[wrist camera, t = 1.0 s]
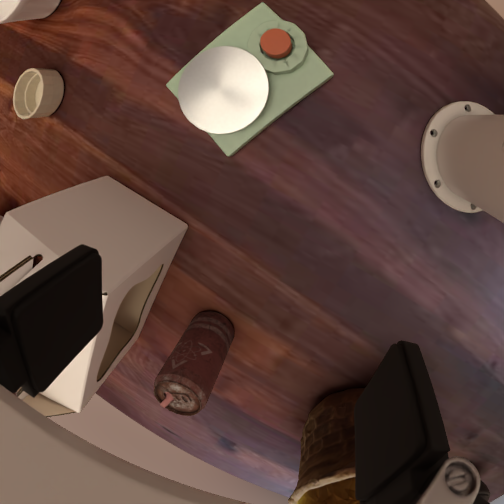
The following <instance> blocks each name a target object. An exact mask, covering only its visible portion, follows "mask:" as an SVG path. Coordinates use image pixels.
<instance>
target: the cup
mask: <svg viewBox="0 0 504 504" xmlns="http://www.w3.org/2000/svg"><path fill="white" fill-rule="evenodd" d="M60 2H61V0H0V23H4V24H5V23H7V22H14V21H22V20H30V19H41V18H45V17H47V16H49V15H51V14H52V13H53V12H54V11H55V10H56V8H57V7H58V6H59V4H60Z"/></svg>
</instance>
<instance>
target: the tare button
mask: <svg viewBox="0 0 504 504" xmlns="http://www.w3.org/2000/svg"><path fill="white" fill-rule="evenodd" d="M260 45H261V47H262V49H263V50H264V52H265V53H266V54H267V55H268V56H269V57H272V58H276V59H279V58H283V57H285V56H287V55H288V54H289V53H290V52H291V49H292V43H291V39H290V37H289V35H288V34H287V33H286V32H285V31H284V30H281V29H277V28H274V29H270V30H267V31H266V32H265V33H264V34H263V35H262V36H261V39H260Z"/></svg>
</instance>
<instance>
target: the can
mask: <svg viewBox="0 0 504 504" xmlns="http://www.w3.org/2000/svg"><path fill="white" fill-rule="evenodd" d="M233 338H234V329H233V327H232V324H231V323H230V322H229V320H228V319H227V318H226V317H224V316H223V315H222V314H219V313H217V312H212V311H207V312H201V313H199V314H197V315H196V316H195V317H194V318H193V320H192V321H191V323H190V324H189V326H188V328H187V329H186V331H185V332H184V334H183V336H182V337H181V339H180V340H179V342H178V344H177V345H176V347H175V348H174V350H173V352H172V353H171V355H170V356H169V358H168V360H167V361H166V363H165V364H164V366H163V368H162V369H161V371H160V372H159V374H158V376H157V377H156V379H155V382H154V394H155V397H156V399H157V400H158V402H159V403H160V405H161V406H162V407H165V408H167V409H168V410H169V411H172V412H174V413H176V414H180V415H185V416H191V415H195V414H197V413H198V412H199V411H200V410H202V409H203V408H205V405H206V403H207V401H208V398H209V396H210V394H211V391H212V389H213V386H214V384H215V382H216V379H217V377H218V374H219V372H220V370H221V367H222V365H223V362H224V360H225V357H226V355H227V353H228V350H229V348H230V345H231V343H232V340H233Z"/></svg>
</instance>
